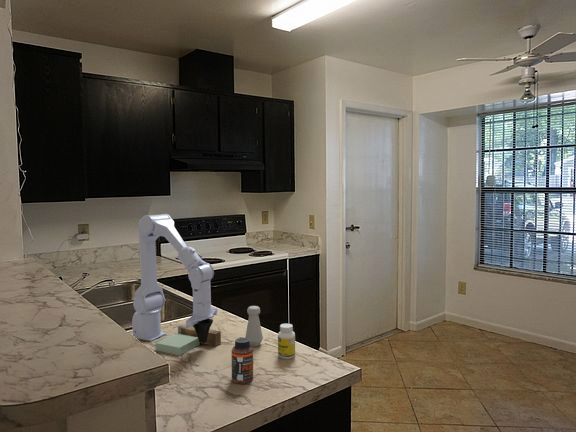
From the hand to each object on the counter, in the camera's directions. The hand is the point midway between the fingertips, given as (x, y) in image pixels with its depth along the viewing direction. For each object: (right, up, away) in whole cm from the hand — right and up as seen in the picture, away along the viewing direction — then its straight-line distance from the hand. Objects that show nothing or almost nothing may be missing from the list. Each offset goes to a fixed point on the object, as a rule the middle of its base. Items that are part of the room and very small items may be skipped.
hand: (202, 341), depth 142 cm
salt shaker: (+17, -2, +4) cm, 17 cm away
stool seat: (-9, -2, +2) cm, 9 cm away
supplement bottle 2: (+28, -3, -6) cm, 28 cm away
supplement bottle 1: (+15, -4, -22) cm, 27 cm away
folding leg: (-3, -2, +7) cm, 8 cm away
